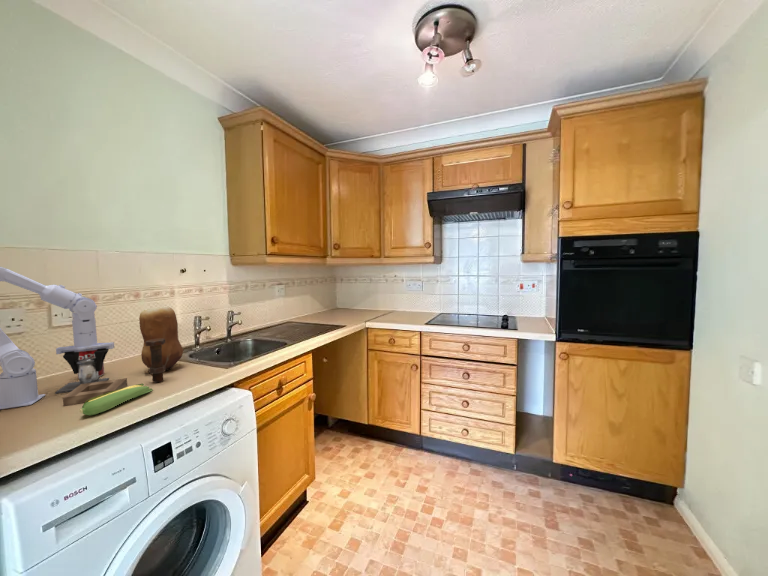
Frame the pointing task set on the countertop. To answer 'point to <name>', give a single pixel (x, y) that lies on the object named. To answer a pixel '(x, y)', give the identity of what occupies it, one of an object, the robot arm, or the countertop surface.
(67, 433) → the countertop surface
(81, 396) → the wooden square frame
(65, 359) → the robot arm
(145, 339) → the butternut squash
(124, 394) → the edible corn
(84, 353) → the soda can
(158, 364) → the bolt
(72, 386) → the rest mat
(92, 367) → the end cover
